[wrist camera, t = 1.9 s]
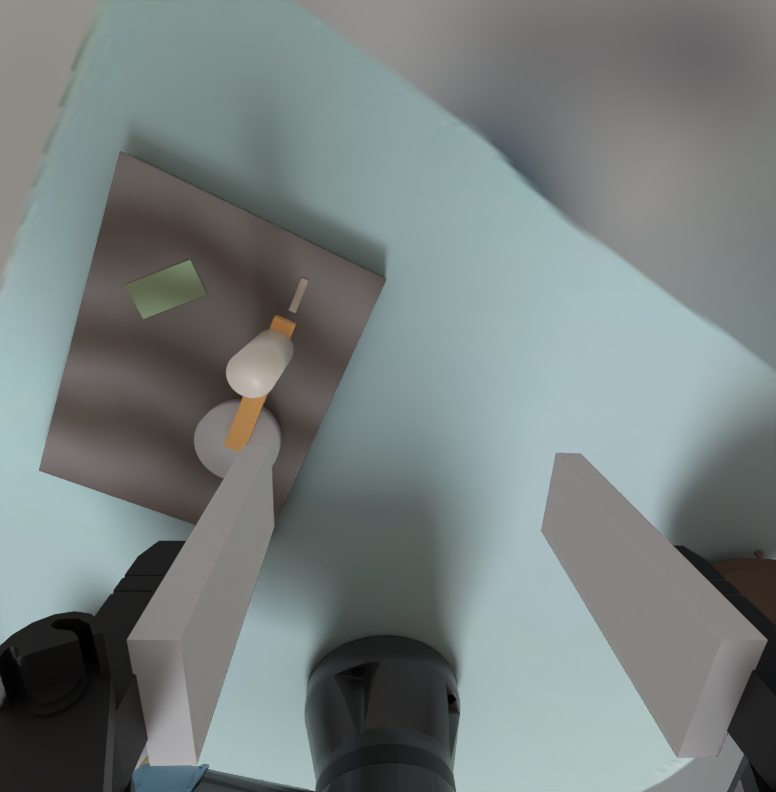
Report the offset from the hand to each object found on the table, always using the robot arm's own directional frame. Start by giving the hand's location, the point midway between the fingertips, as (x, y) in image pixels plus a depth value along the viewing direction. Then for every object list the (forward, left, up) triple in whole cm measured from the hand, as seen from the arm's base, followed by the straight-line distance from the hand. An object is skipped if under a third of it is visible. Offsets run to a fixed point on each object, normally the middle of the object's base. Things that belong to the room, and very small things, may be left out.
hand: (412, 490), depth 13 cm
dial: (-7, +7, -20) cm, 22 cm away
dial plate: (-8, +11, -21) cm, 25 cm away
